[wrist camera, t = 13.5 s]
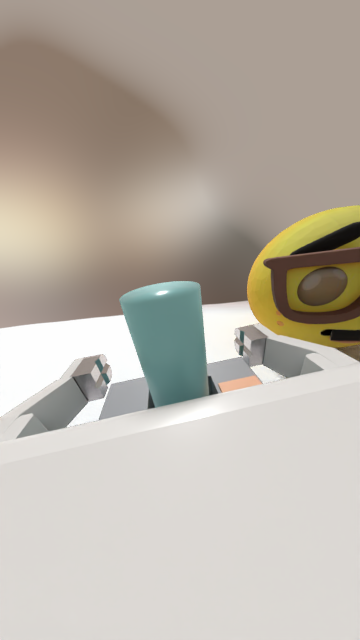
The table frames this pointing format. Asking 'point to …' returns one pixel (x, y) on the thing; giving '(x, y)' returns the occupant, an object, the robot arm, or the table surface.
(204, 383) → the teal rounded cylinder
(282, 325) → the emoji
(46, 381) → the table surface
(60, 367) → the table surface
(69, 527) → the robot arm
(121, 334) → the table surface
